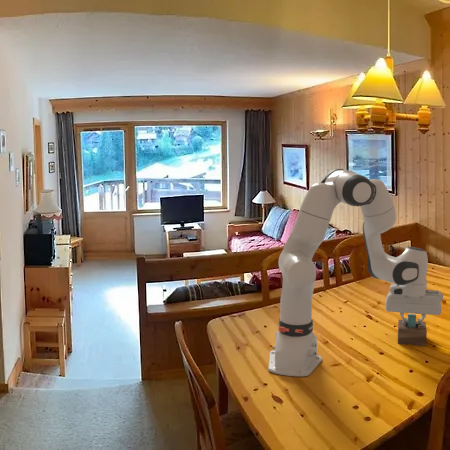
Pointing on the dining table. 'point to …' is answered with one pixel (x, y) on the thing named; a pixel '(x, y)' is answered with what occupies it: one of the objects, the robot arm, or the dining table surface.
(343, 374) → the dining table surface
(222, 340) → the dining table surface
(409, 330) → the walnut hole block
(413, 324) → the teal peg
